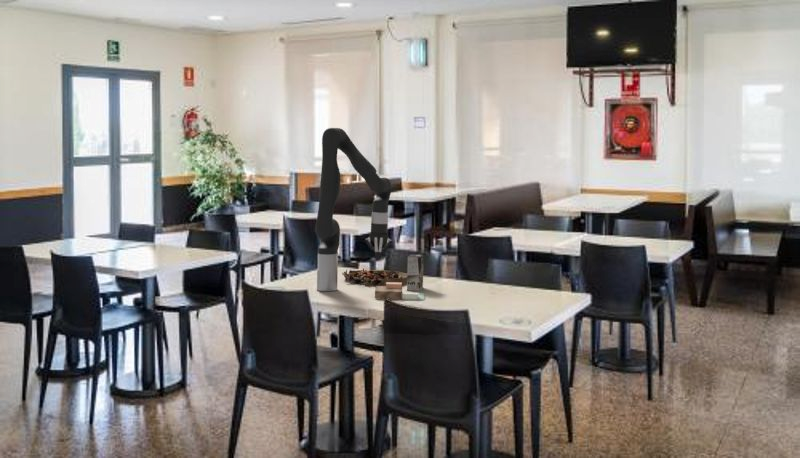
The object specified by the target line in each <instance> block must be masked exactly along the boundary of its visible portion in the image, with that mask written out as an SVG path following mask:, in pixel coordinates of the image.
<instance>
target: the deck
mask: <svg viewBox="0 0 800 458" xmlns="http://www.w3.org/2000/svg"><path fill="white" fill-rule="evenodd" d="M402 293H403V288H402V289H400V288H386V286H375V289H374V299H375V298H380V299H379V300H384V299H383V298H389V299H388V300H403V299H402Z"/></svg>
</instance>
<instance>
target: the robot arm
mask: <svg viewBox="0 0 800 458" xmlns="http://www.w3.org/2000/svg"><path fill="white" fill-rule="evenodd" d="M321 146H322V147H321V149H322V150H321V151H322V152H321V153H322V154H321V156H322V158H321V161H322V162H321V174H320V184H319V197H318V198H319V199H318V211H317V216H316V220H315V221H316V222H315V228H314V229H315V235H316V237H318V238H319V239H320V240H321V242H320V244H319V246H318V247H317V270H316V291H321V292H334V291H335V292H336V291H337V290H338V270H339V269H338V266H339V265H338V264H339V263H338V260H339V258H338V256H339V255H338V253H339V252H338V251H339V248H340V238H341V237H340V236H341V228H340V227H341V226H340V223H339V222H338V221H337V220H336V219H334V218H333V217H334V209H335V206H336V203H337V201H338V198H339V197H340V196H339V195H340V191H341V184H342V183H341V182H342V178H341V177H342V176H341V171H340V168H339V164H338V150H340V151H341V153H343V154H344V155H346V157H347V158H348V160H349V161H350V164H351V166H352V167H353V169H354V170H355V171H356V172H357V174H359V175H360V176H361V177H362V178H363V180H364V181H365V183H366V184H367V187H368V188H369V189H370V190H371V191H372V192H373V193H375V194H376V196H375V198H374V199H373V201H372V207H371V209H372V210H371V211H372V212H371V218H370V219H371V221H370V233H369V237H367V238H365V240H364V242H365V243H366V245H367V246H368V248H369V249H370V250H371V251H373V252H374V259H375V261H380V260H381V259H382V252H385V251H386V250H387V249H388V248H389V247H390V246H391V245H392V243H393V239H390V238H389V235H388V230H389V229H388V227H389V226H388V225H389V224H388V223H389V215H388V214H389V213H388V212H389V200H390V197H391V193H392V182H391V180H390V179H389V178H387V177H380V176H379V175H378V174H377V169H376V167H375V166H374V165H373V164H372V163H371V162H370V161H369V159H367V158H366V157H365V156H364V155H363V154H362V153H361V151H360V150H359V149H358V148H357V147H356V145H355V144H354V143H353V140H351V138H350V136H349V135H348V134H347V132H346V131H345V130H344V129H342V128H341V127H328V128H327V129H325V130H324V131H323V132H322V137H321ZM371 242H372V243H373V244H374V246H373V245H372V243H371ZM385 243H386V244H385ZM384 244H385V246H384V247H383V245H384ZM378 245H379V246H378Z"/></svg>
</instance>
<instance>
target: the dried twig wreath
mask: <svg viewBox="0 0 800 458" xmlns="http://www.w3.org/2000/svg"><path fill="white" fill-rule="evenodd" d="M342 275H343V276H344V278H345V279H344V281H345V282H346V283H347V284H350V285H354V284H360V285H359V286H362V285H365V286H364V287H376V286H386V282H398V283H402V287H404V286H407V272H402V271H395V270H386V269H385V270H382V269H381V270H380V269H376V270H375V269H372V268H370V269H369V270H368V269H365V268H364V267H363V268H362V269H360V270H359V269H357V270H352V269H350V270H349V271H348V269H346V270H345V271H343V272H342Z"/></svg>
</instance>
